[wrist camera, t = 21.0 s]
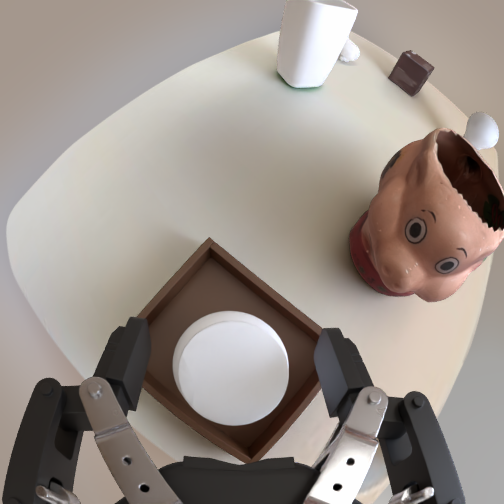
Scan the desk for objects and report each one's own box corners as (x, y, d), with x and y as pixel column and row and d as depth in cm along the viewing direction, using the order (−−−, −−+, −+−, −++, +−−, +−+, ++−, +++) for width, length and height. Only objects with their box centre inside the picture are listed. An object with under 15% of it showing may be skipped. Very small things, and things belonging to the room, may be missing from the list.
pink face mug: (388, 160, 31) (445, 87, 17) (450, 224, 29) (521, 173, 16) (297, 266, 24) (374, 184, 11) (385, 350, 23) (502, 340, 10)
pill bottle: (280, 365, 21) (333, 384, 10) (220, 407, 19) (220, 464, 9) (235, 306, 22) (248, 274, 12) (174, 347, 20) (131, 353, 10)
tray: (120, 351, 20) (106, 351, 17) (210, 249, 24) (209, 236, 21) (248, 453, 18) (252, 467, 16) (333, 348, 22) (349, 349, 19)
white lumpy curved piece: (321, 4, 32) (375, 35, 32) (308, 34, 40) (357, 65, 40) (304, 6, 30) (364, 39, 30) (291, 39, 38) (344, 72, 38)
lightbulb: (441, 146, 34) (477, 107, 24) (450, 138, 36) (483, 102, 25) (463, 174, 33) (503, 139, 23) (471, 163, 35) (506, 131, 24)
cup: (330, 92, 34) (364, 12, 20) (288, 95, 32) (315, 3, 18) (306, 66, 36) (330, -7, 22) (266, 68, 34) (284, -14, 20)
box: (411, 97, 38) (429, 71, 31) (387, 78, 39) (402, 51, 32) (419, 91, 40) (435, 67, 33) (397, 73, 41) (411, 49, 34)
